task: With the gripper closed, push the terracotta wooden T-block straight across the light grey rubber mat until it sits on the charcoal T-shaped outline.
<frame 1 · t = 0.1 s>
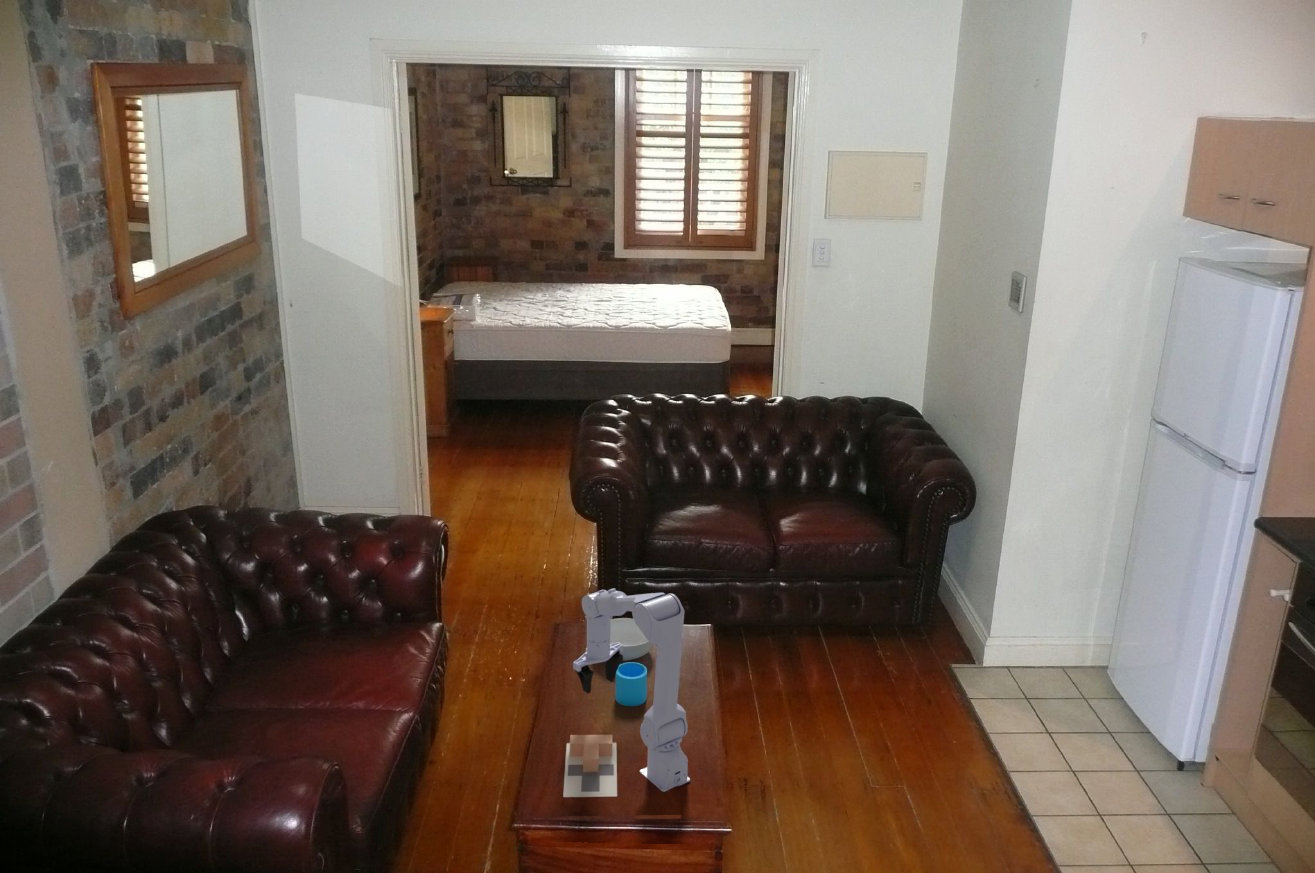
hand: (598, 685, 254), 10 cm above the table, tool pointing down, fingers open, 7 cm apart
mug: (632, 694, 269), on the table
t block: (591, 756, 242), point 1 cm above the table, touching push mat
push mat: (590, 770, 238), on the table
cereal bowl: (624, 654, 289), on the table
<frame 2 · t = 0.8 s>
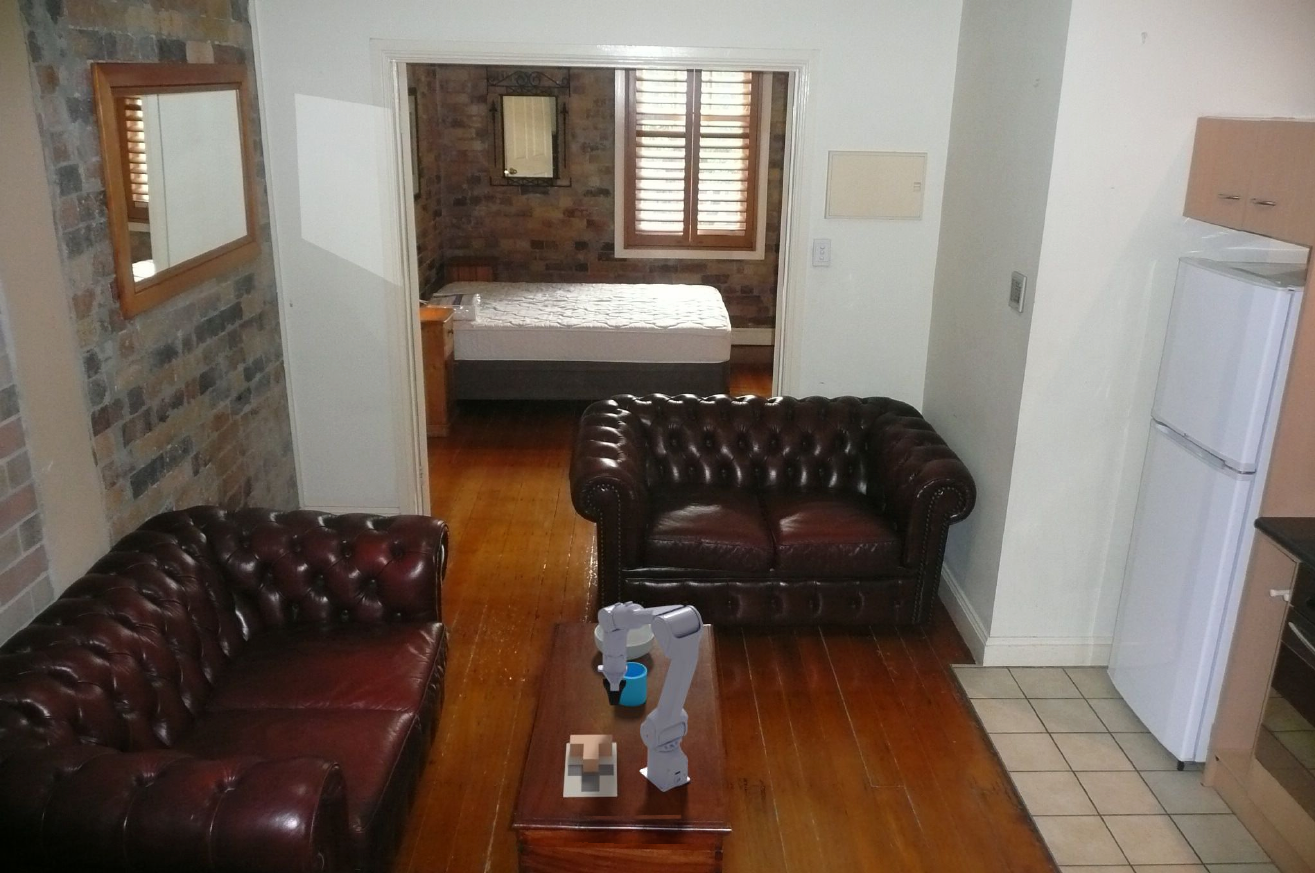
hand: (614, 700, 249), 9 cm above the table, tool pointing down, fingers open, 3 cm apart
nothing on the table moved.
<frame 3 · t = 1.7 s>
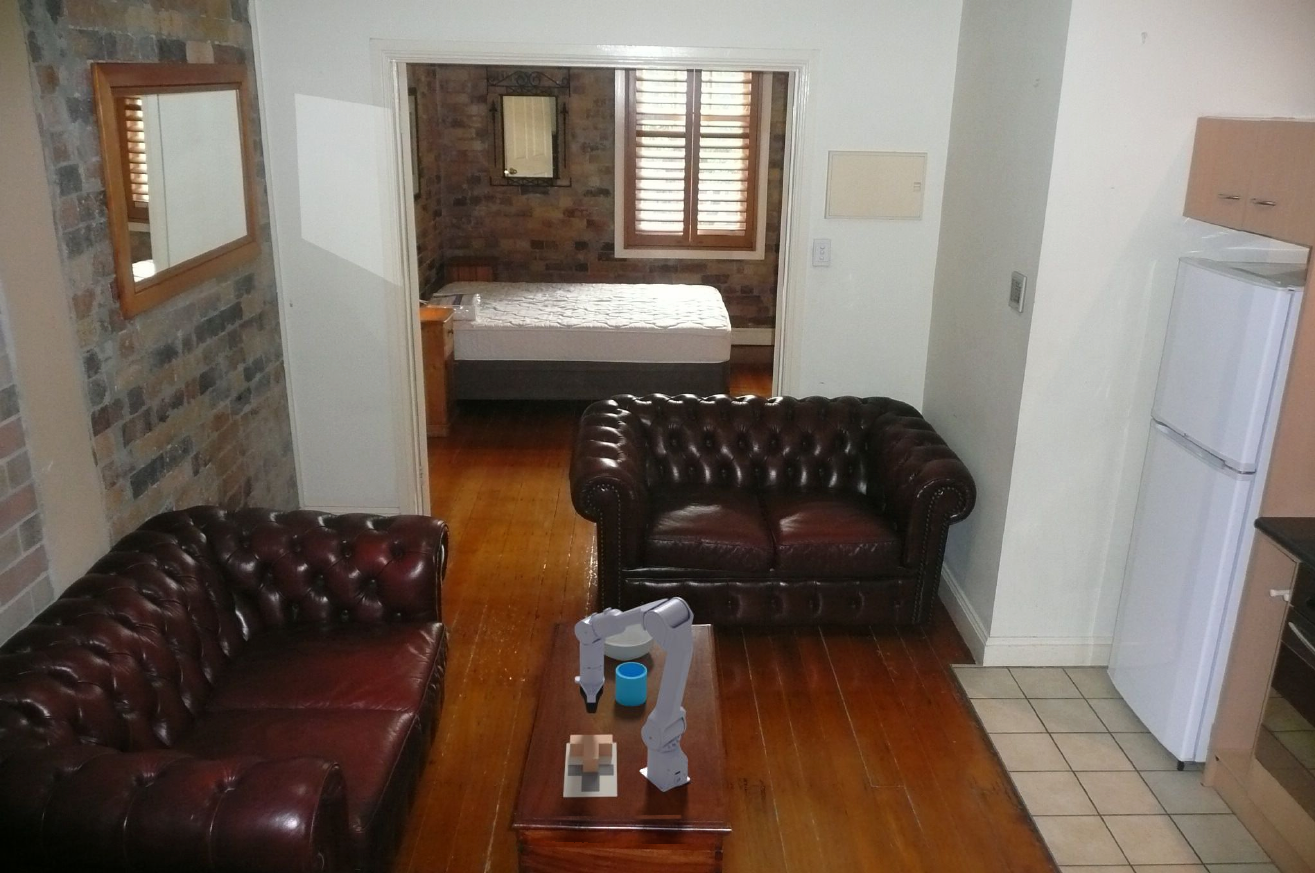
hand: (591, 711, 248), 7 cm above the table, tool pointing down, fingers closed
nothing on the table moved.
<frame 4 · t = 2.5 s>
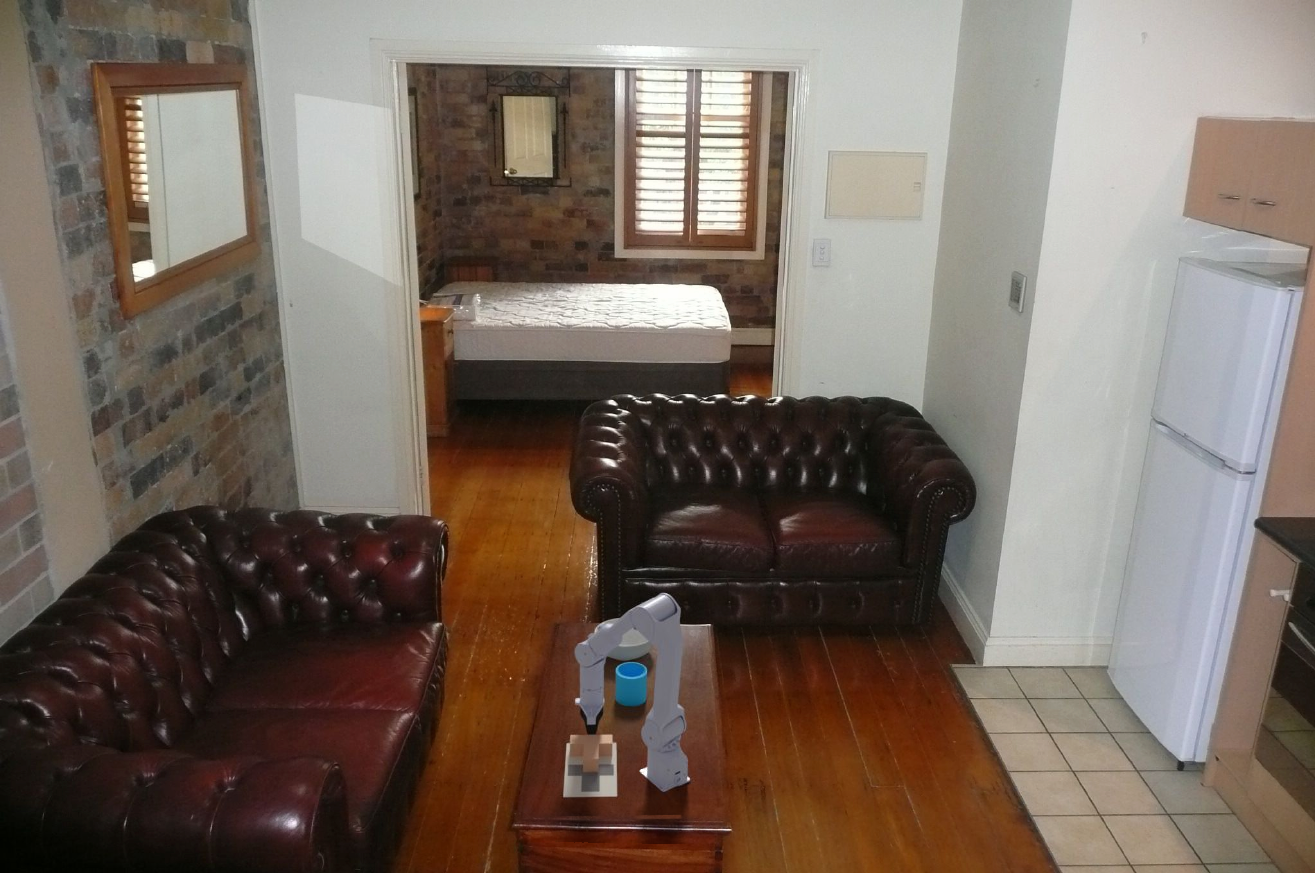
hand: (591, 732, 250), 1 cm above the table, tool pointing down, fingers closed
nothing on the table moved.
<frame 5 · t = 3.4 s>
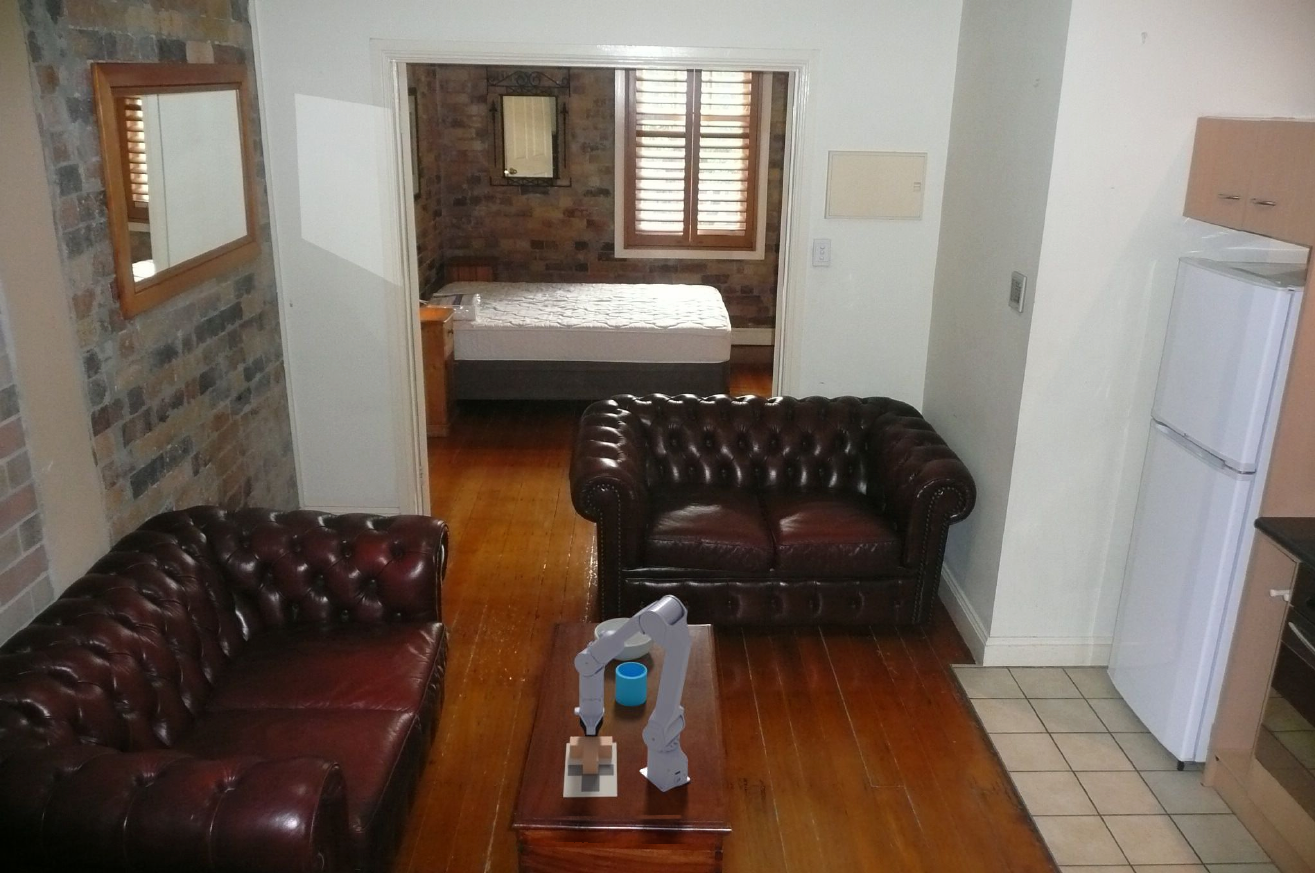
hand: (591, 742, 246), 1 cm above the table, tool pointing down, fingers closed
t block: (591, 758, 242), point 1 cm above the table, touching gripper
everything else where it was.
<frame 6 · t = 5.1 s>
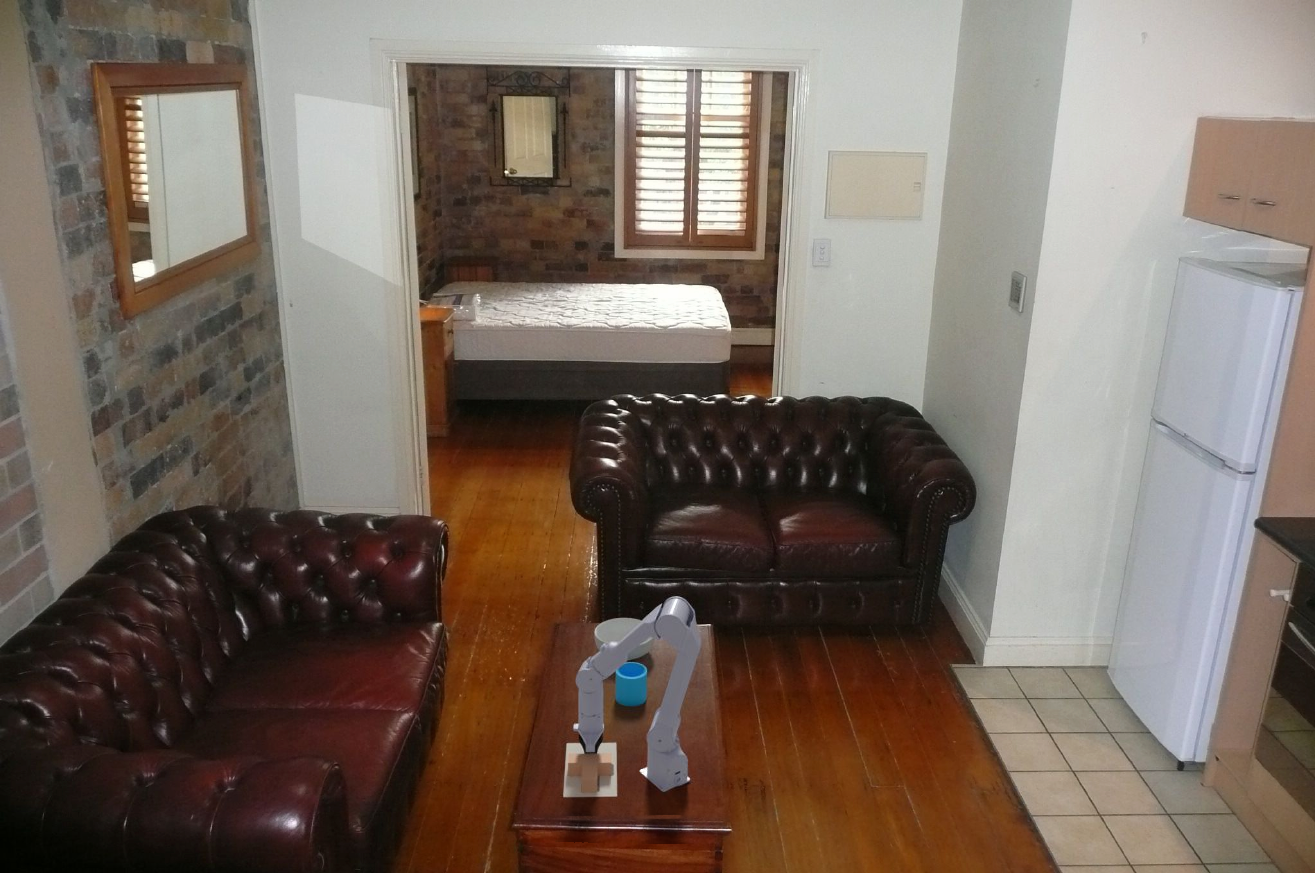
hand: (590, 759, 240), 1 cm above the table, tool pointing down, fingers closed
t block: (589, 775, 235), point 1 cm above the table, touching gripper, push mat
everything else where it was.
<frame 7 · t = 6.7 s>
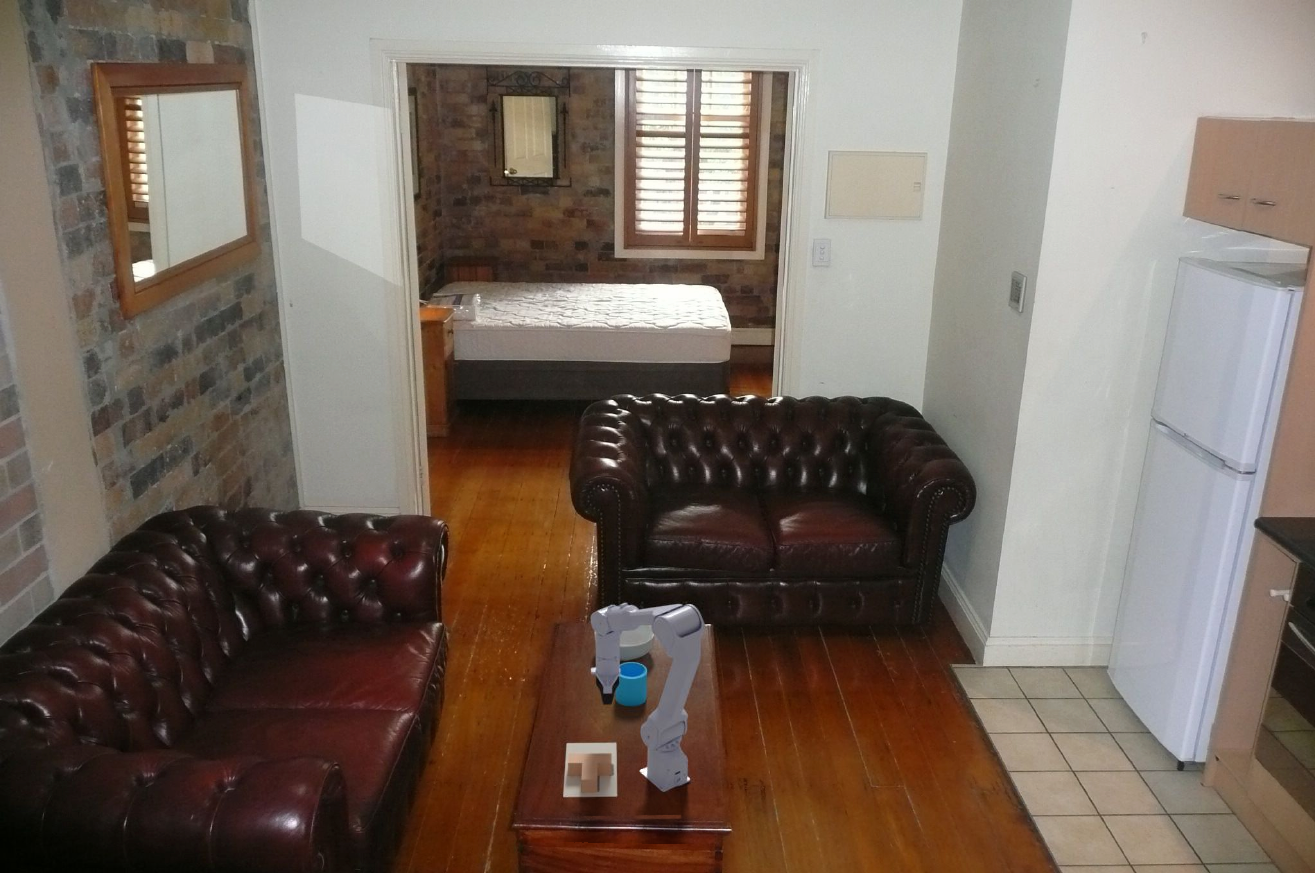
hand: (607, 703, 248), 9 cm above the table, tool pointing down, fingers closed
t block: (589, 775, 235), point 1 cm above the table, touching push mat
everything else where it was.
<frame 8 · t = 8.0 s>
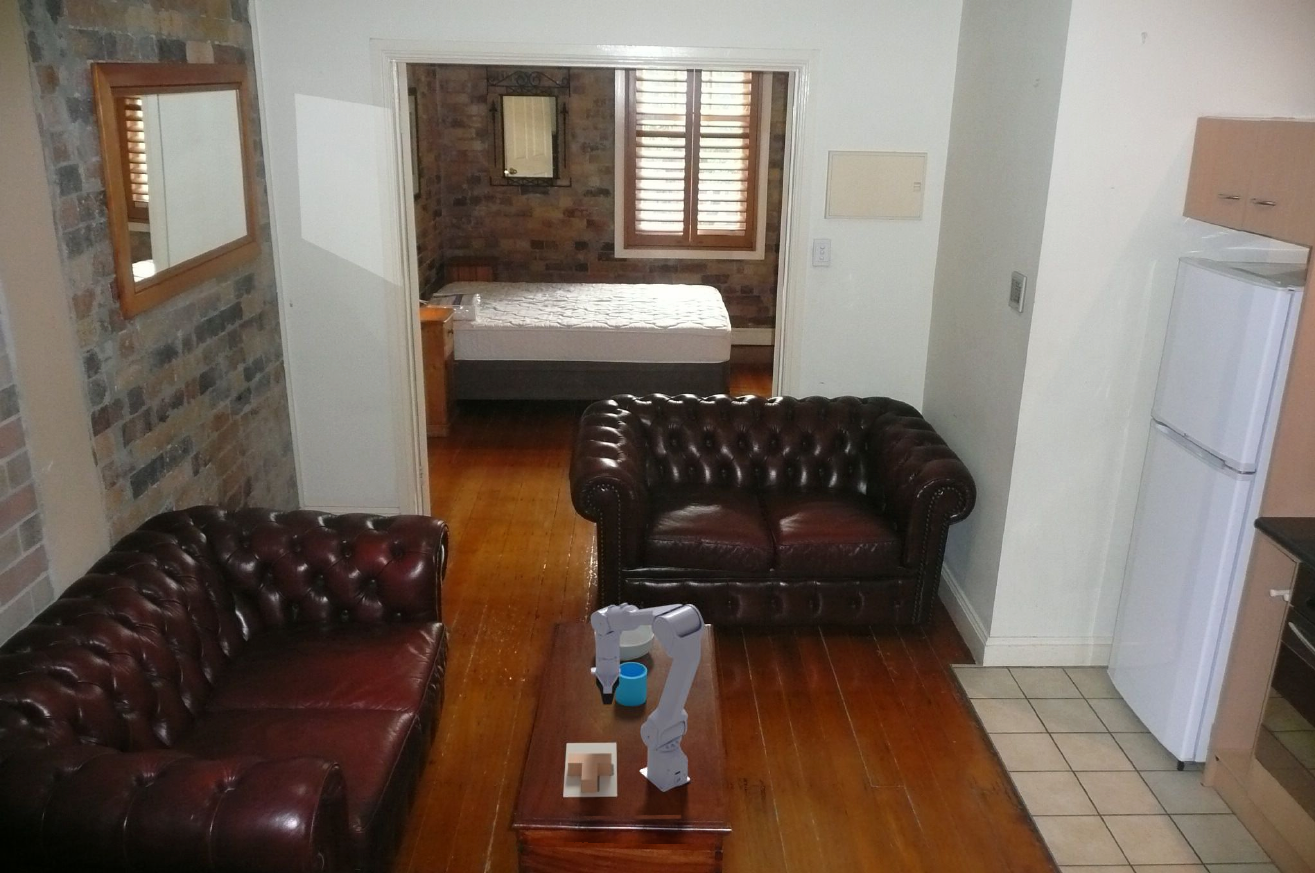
hand: (607, 703, 248), 9 cm above the table, tool pointing down, fingers closed
nothing on the table moved.
at the end: t block 0.4 cm from the target spot, point 0.6 cm above the table; t block tilted 0°; t block moved 7.4 cm from its start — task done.
